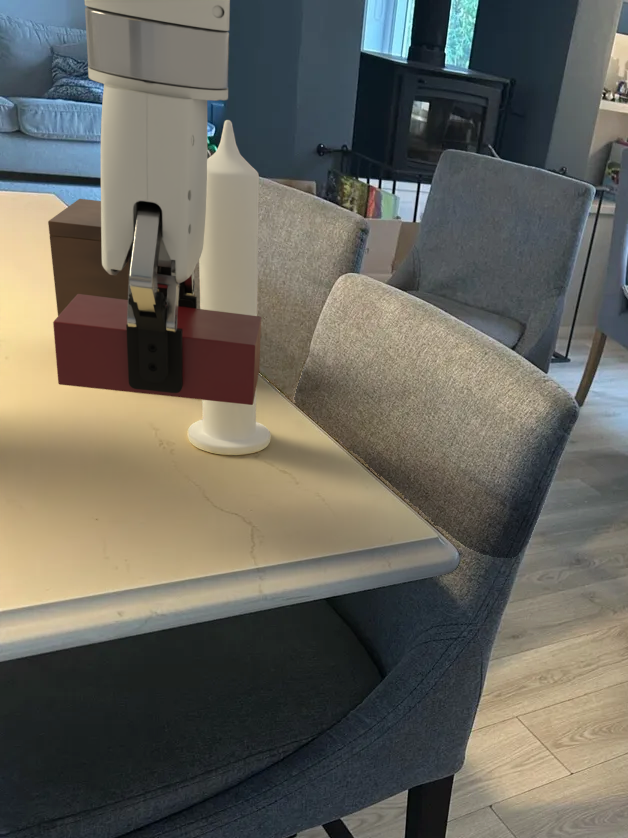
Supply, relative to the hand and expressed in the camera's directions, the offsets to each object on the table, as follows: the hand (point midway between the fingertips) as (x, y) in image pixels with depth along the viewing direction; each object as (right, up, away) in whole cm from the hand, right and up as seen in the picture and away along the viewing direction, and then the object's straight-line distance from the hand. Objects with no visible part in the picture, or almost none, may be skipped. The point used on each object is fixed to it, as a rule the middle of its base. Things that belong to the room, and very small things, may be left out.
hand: (164, 367), depth 59 cm
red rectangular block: (0, -1, 0) cm, 1 cm away
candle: (0, -1, +19) cm, 19 cm away
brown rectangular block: (-14, +9, +33) cm, 37 cm away
